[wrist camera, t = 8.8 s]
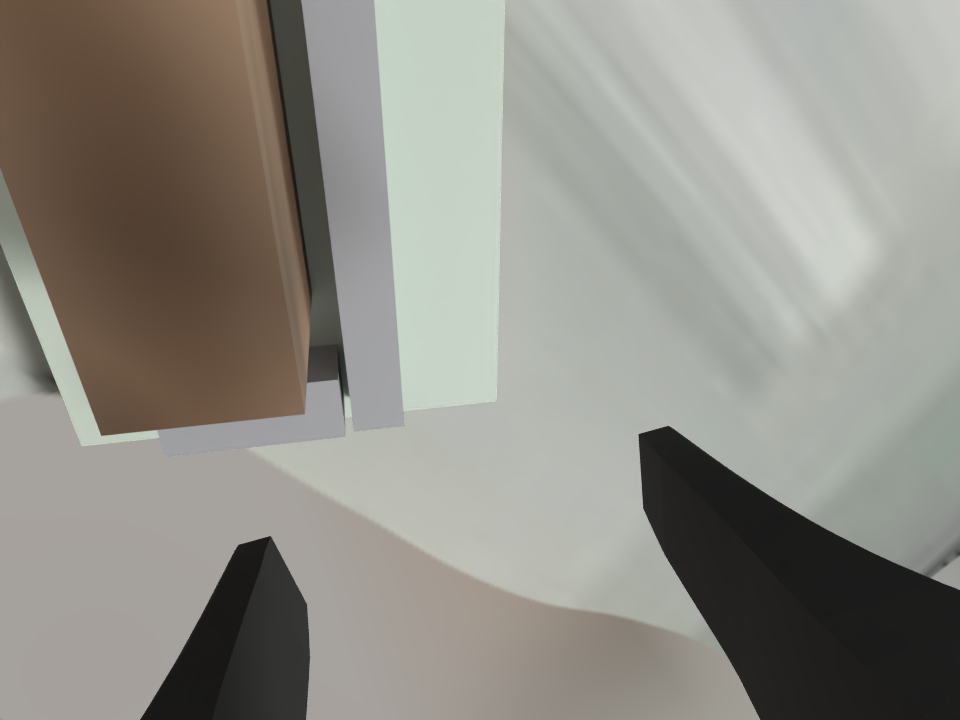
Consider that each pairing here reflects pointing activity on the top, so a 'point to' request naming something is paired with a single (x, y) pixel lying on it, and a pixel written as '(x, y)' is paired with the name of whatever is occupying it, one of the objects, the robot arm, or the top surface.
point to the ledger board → (365, 219)
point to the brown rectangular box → (160, 204)
